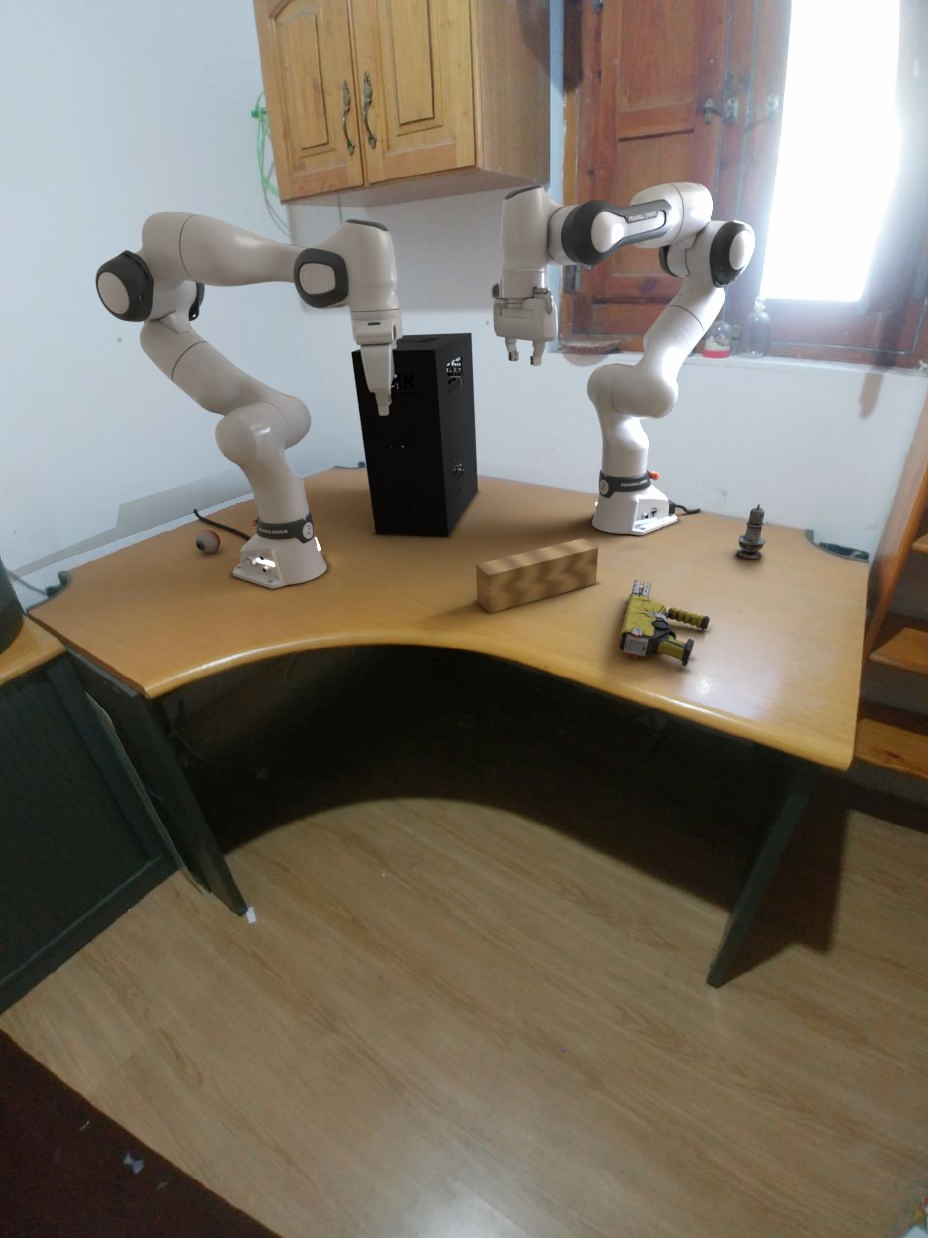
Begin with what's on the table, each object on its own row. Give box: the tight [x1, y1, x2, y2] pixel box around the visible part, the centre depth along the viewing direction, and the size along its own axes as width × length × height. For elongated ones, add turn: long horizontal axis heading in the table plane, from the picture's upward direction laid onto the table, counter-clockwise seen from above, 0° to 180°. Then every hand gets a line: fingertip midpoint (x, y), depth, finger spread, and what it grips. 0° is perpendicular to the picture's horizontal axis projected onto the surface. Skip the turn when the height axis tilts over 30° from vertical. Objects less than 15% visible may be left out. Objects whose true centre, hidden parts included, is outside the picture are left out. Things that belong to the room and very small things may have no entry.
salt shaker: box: [736, 503, 767, 560], centre depth 136 cm, size 6×6×12 cm
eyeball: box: [194, 529, 221, 554], centre depth 155 cm, size 6×6×6 cm
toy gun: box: [617, 579, 711, 667], centre depth 111 cm, size 5×24×15 cm
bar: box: [475, 538, 599, 614], centre depth 126 cm, size 26×6×8 cm, turn 115°
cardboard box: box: [350, 332, 479, 538], centre depth 164 cm, size 38×20×45 cm, turn 167°
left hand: (385, 409), depth 114 cm, fingers open, 8 cm apart
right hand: (524, 363), depth 125 cm, fingers open, 8 cm apart
